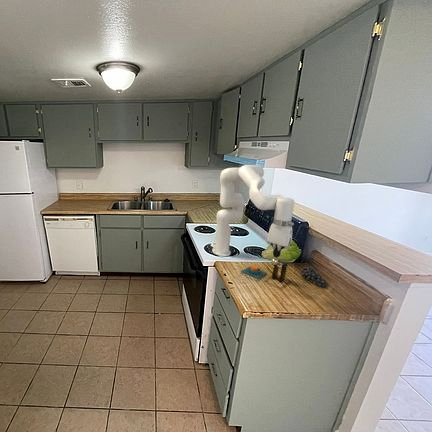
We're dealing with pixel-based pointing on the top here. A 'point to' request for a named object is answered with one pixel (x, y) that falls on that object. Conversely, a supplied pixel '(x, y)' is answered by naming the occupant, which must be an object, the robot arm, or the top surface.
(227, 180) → the robot arm
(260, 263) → the top surface
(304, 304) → the top surface
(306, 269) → the fruit
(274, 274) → the bracket
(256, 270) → the button
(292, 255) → the lettuce
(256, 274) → the control block
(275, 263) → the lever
